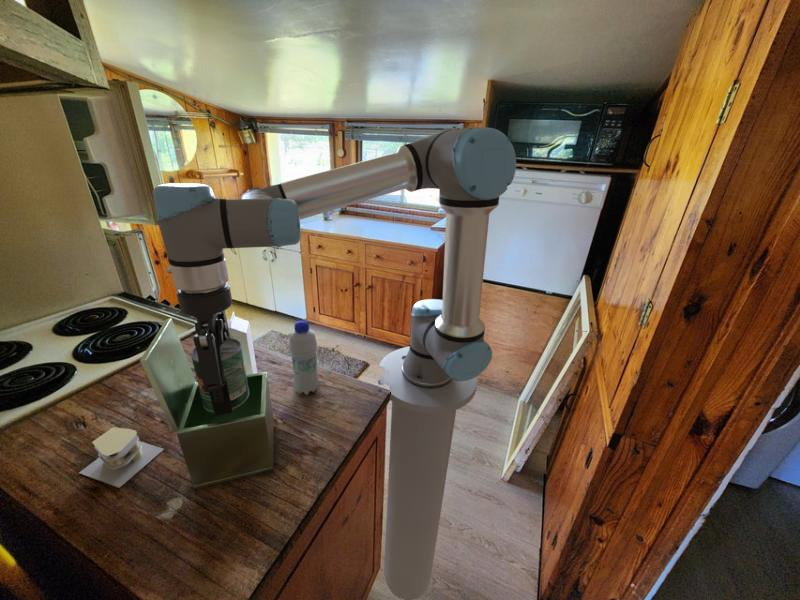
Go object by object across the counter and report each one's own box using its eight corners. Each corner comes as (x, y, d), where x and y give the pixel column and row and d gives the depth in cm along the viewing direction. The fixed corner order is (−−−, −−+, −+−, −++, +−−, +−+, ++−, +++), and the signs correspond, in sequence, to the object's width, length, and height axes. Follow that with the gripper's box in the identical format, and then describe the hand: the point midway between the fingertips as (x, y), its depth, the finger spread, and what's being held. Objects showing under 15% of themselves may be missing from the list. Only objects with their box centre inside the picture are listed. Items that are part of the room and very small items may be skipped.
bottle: (306, 377, 90) (301, 313, 82) (325, 386, 87) (321, 320, 79) (287, 391, 84) (280, 323, 76) (306, 401, 81) (300, 331, 73)
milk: (231, 402, 80) (213, 323, 71) (234, 386, 85) (219, 311, 76) (257, 398, 82) (243, 320, 73) (259, 382, 87) (247, 309, 78)
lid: (171, 317, 59) (166, 318, 59) (145, 359, 47) (139, 360, 47) (195, 380, 65) (191, 381, 65) (178, 430, 53) (173, 432, 53)
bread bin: (273, 420, 75) (266, 371, 70) (273, 470, 64) (264, 416, 58) (207, 433, 71) (194, 382, 65) (194, 489, 59) (176, 433, 54)
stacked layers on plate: (78, 473, 61) (67, 452, 59) (126, 437, 69) (118, 417, 67) (119, 488, 59) (109, 466, 57) (164, 449, 67) (157, 429, 64)
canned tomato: (193, 412, 58) (179, 360, 53) (216, 383, 65) (205, 336, 60) (238, 413, 58) (228, 362, 54) (256, 385, 65) (248, 338, 61)
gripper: (190, 266, 60) (213, 368, 69) (155, 316, 42) (192, 444, 51) (235, 264, 62) (251, 363, 71) (219, 310, 44) (244, 433, 54)
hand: (227, 396), depth 61 cm, fingers closed on canned tomato, 8 cm apart
